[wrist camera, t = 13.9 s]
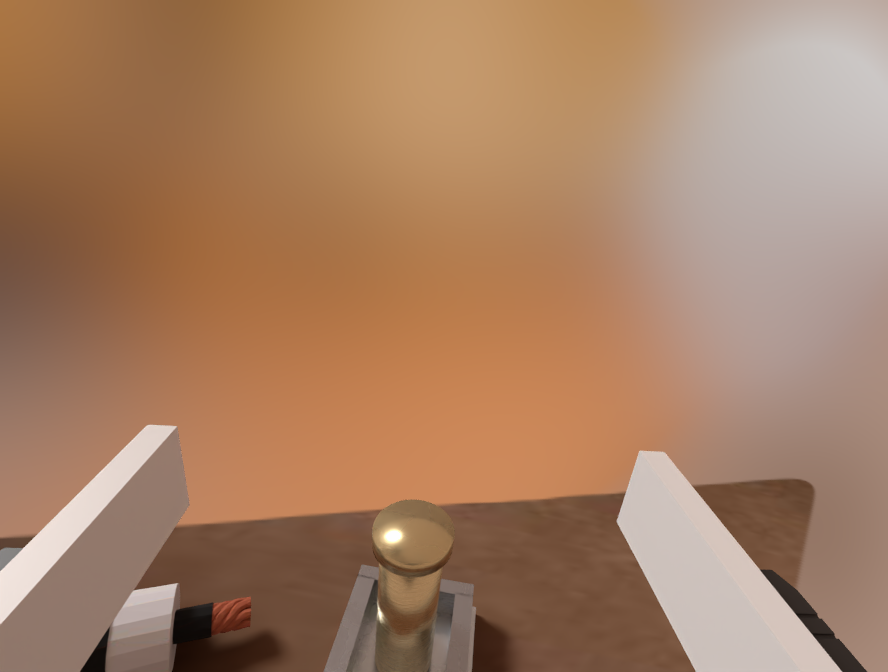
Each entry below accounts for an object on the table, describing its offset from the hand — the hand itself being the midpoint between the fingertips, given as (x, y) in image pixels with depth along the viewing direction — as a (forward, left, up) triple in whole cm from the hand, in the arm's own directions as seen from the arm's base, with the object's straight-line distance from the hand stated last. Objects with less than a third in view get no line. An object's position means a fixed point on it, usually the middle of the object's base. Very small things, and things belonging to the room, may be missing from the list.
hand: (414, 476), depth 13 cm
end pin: (-2, +12, -28) cm, 31 cm away
